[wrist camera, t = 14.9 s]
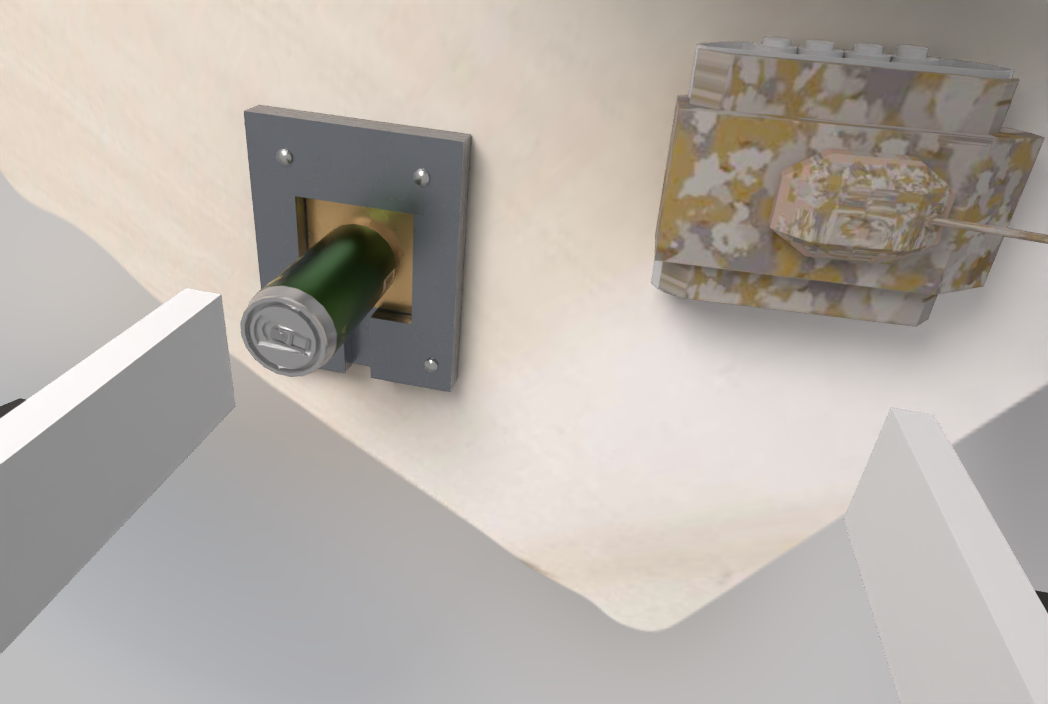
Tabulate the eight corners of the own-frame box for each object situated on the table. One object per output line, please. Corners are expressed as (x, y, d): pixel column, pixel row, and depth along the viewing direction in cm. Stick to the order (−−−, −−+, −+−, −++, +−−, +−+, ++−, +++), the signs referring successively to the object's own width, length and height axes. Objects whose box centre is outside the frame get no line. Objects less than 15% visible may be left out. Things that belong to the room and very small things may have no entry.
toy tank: (686, 25, 40) (690, 46, 32) (1075, 55, 38) (1195, 87, 29) (648, 275, 48) (643, 347, 39) (970, 313, 45) (1041, 399, 37)
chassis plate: (259, 104, 46) (242, 111, 44) (471, 134, 45) (462, 142, 43) (280, 346, 55) (266, 360, 53) (457, 377, 54) (449, 393, 52)
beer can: (407, 236, 48) (337, 313, 38) (391, 303, 51) (321, 393, 41) (332, 208, 48) (241, 279, 38) (320, 277, 51) (232, 360, 41)
